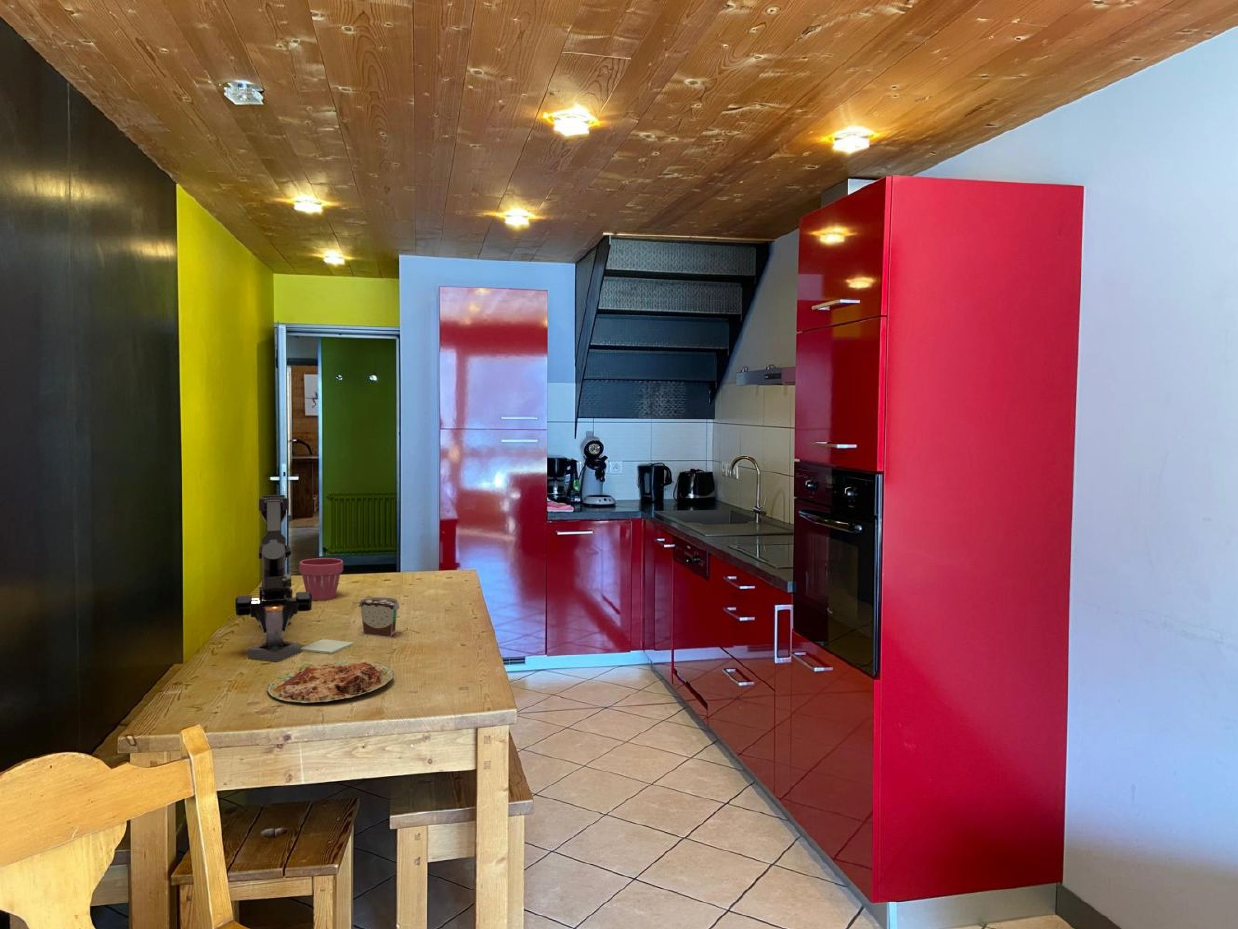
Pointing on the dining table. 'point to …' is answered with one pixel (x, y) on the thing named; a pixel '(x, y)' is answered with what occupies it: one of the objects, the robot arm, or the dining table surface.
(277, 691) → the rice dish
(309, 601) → the robot arm
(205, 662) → the dining table surface
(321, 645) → the rest pad
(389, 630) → the food container
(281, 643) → the steel peg
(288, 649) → the block
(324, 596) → the plant pot
